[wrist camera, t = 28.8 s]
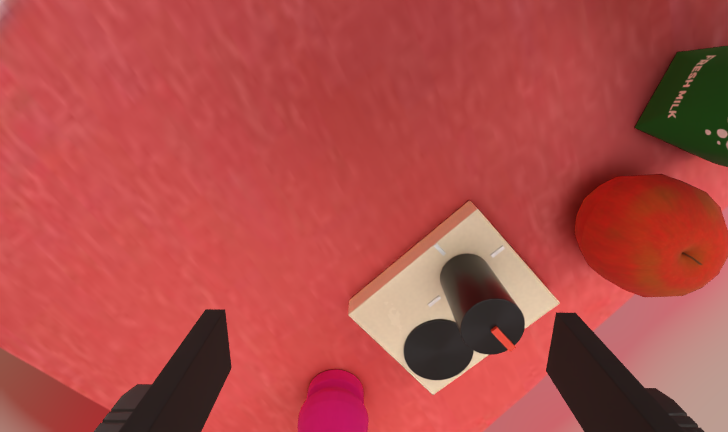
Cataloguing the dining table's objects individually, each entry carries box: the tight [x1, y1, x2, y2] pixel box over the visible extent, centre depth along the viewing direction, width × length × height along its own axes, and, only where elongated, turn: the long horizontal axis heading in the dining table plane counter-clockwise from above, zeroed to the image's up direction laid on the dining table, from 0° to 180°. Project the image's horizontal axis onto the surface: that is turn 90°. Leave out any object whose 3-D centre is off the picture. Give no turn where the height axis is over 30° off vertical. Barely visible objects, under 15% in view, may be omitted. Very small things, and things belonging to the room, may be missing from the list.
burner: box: [404, 319, 474, 380], centre depth 41 cm, size 7×7×1 cm
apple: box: [575, 174, 728, 297], centre depth 34 cm, size 10×10×12 cm
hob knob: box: [440, 253, 525, 355], centre depth 34 cm, size 5×5×9 cm
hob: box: [348, 200, 560, 395], centre depth 41 cm, size 16×13×3 cm
